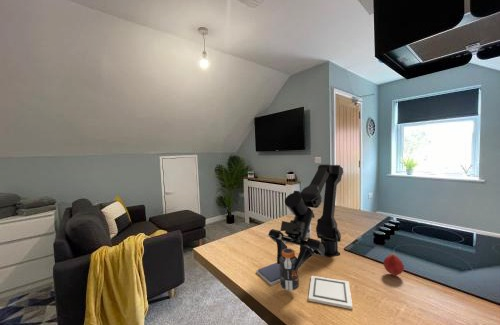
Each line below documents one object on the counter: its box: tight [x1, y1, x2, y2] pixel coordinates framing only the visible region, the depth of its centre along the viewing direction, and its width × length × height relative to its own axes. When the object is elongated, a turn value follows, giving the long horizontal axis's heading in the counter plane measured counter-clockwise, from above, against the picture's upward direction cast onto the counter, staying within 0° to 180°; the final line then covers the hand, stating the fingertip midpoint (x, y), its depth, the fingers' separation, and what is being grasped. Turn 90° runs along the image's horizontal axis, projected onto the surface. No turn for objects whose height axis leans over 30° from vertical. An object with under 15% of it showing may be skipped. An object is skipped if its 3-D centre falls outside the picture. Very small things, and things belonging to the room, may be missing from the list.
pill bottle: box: [279, 248, 300, 291], centre depth 67 cm, size 6×6×11 cm
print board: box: [307, 275, 354, 310], centre depth 66 cm, size 12×12×1 cm
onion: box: [383, 253, 405, 277], centre depth 73 cm, size 6×6×8 cm
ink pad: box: [256, 262, 280, 286], centre depth 77 cm, size 10×10×1 cm
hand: (286, 267), depth 65 cm, fingers closed on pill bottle, 6 cm apart
